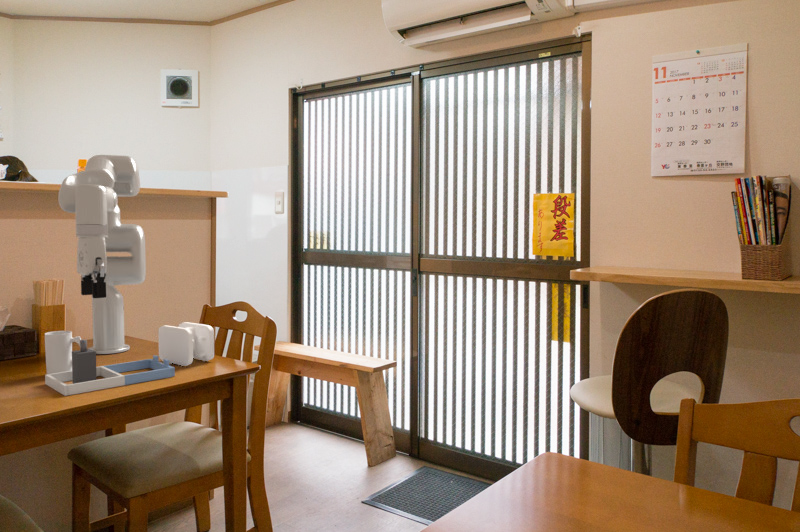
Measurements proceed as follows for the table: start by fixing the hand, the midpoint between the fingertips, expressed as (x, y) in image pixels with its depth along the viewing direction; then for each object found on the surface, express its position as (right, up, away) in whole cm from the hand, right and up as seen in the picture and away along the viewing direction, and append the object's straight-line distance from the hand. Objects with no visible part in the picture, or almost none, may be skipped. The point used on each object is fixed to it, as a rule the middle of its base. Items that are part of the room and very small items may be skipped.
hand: (93, 296), depth 162 cm
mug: (-13, -23, +11) cm, 29 cm away
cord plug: (-3, -24, +1) cm, 24 cm away
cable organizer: (+15, -22, +28) cm, 39 cm away
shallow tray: (+2, -23, +6) cm, 24 cm away
